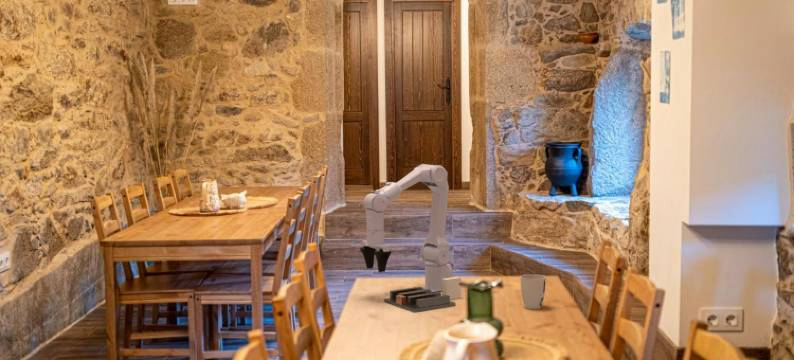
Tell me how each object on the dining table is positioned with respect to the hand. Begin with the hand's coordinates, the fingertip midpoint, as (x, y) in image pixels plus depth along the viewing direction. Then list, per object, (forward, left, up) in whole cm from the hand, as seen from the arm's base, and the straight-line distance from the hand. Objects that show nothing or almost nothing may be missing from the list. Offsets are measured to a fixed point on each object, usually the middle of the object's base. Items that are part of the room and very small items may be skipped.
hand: (375, 270), depth 302 cm
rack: (-8, +14, -10) cm, 19 cm away
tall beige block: (-21, +14, -10) cm, 27 cm away
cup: (-35, +39, -10) cm, 53 cm away
